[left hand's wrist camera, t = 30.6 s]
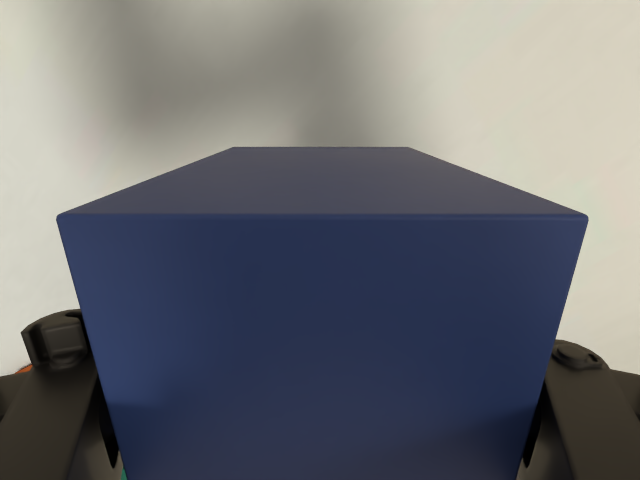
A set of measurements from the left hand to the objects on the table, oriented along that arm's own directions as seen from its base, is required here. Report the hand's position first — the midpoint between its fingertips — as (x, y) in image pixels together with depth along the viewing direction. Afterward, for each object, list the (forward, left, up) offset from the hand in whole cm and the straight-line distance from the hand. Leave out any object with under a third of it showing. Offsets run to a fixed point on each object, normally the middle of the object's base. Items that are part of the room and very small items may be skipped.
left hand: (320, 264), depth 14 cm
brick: (0, 0, -2) cm, 2 cm away
